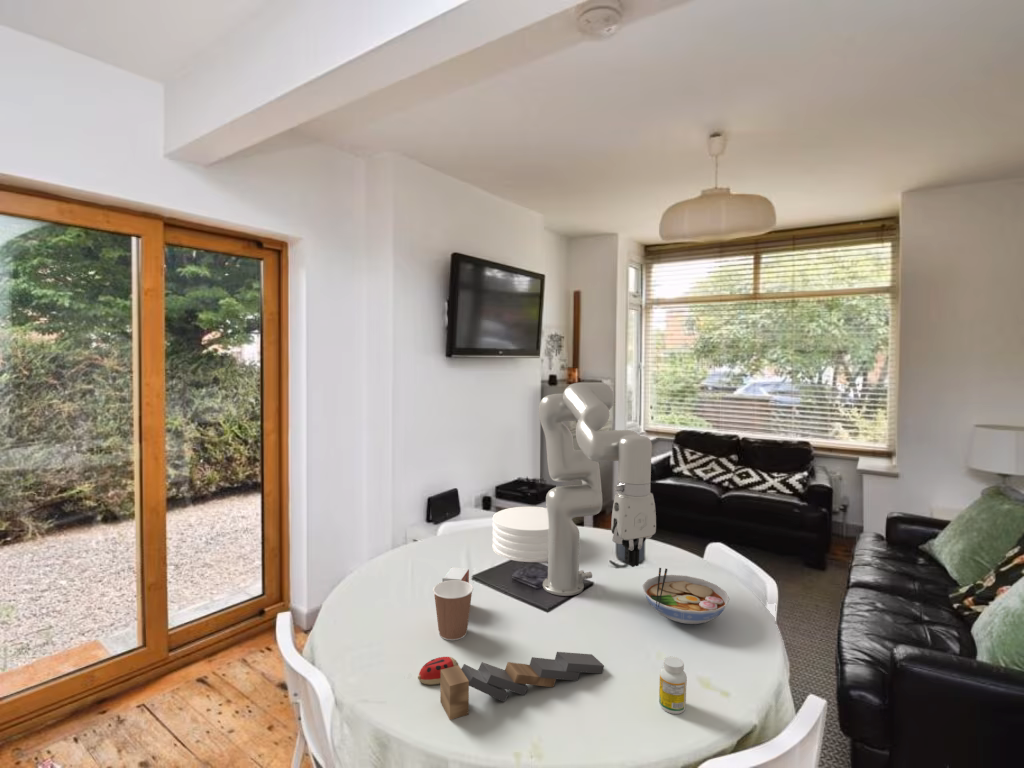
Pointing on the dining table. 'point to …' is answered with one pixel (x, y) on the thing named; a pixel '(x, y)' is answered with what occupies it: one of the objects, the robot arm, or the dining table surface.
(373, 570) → the dining table surface
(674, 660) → the supplement bottle
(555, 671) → the domino
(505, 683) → the domino
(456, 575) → the small box
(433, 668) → the ladybug figurine
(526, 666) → the domino
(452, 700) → the end block
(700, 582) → the ramen bowl
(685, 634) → the dining table surface
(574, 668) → the domino
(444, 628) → the coffee cup
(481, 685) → the domino
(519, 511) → the plate stack
